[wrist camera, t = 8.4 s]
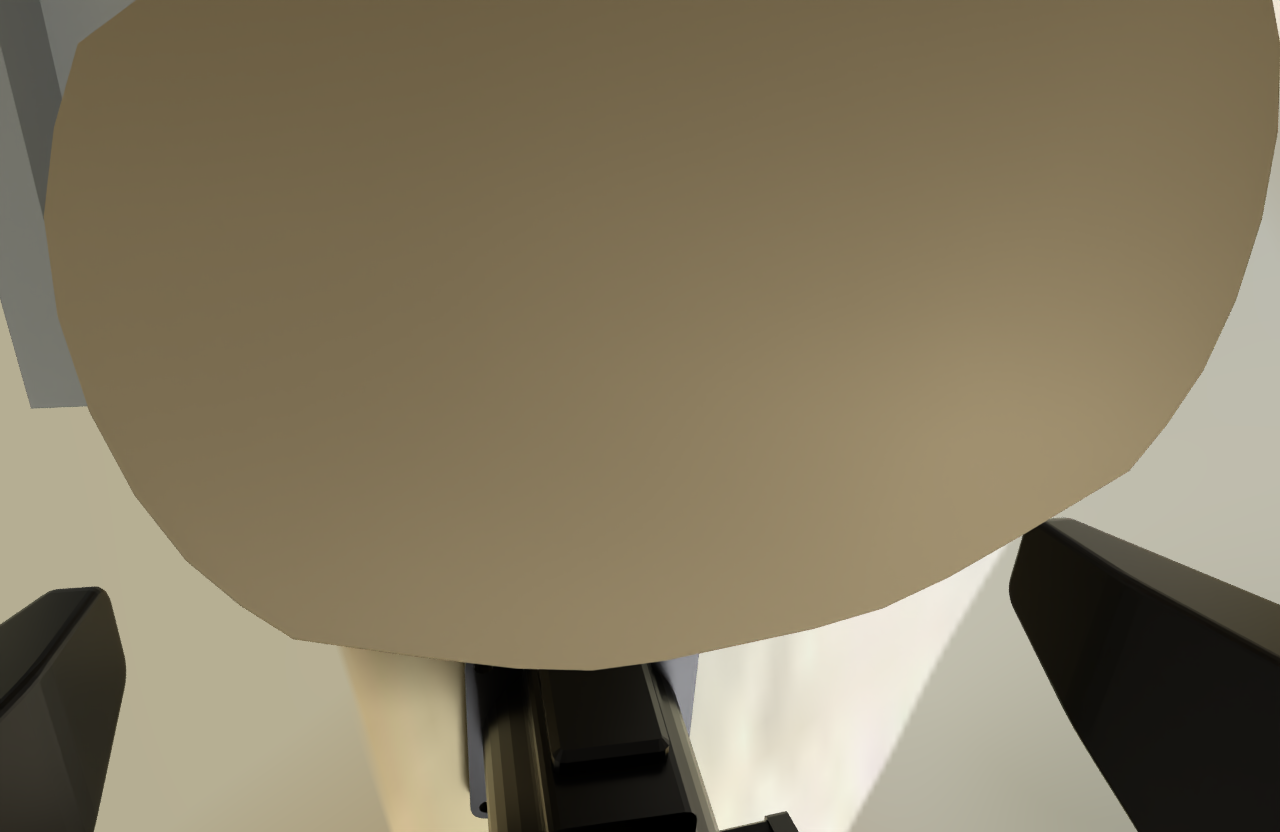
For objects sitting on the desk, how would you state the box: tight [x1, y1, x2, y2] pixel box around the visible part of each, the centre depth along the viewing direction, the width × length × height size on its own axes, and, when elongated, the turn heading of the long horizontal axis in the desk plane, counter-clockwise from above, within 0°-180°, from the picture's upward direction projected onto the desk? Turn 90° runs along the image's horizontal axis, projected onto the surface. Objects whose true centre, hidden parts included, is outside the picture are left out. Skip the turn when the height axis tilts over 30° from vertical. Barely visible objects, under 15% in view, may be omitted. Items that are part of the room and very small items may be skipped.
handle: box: [44, 0, 1280, 670], centre depth 11 cm, size 5×6×15 cm
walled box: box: [0, 0, 135, 408], centre depth 17 cm, size 14×18×2 cm
